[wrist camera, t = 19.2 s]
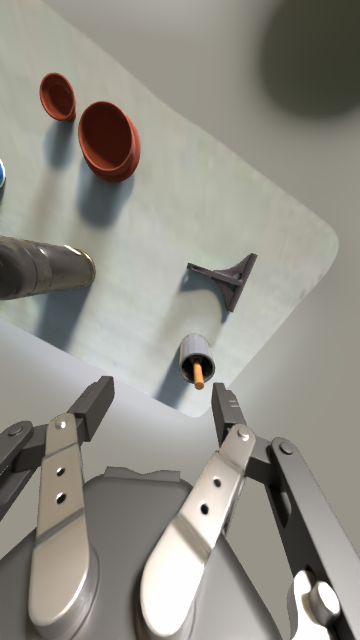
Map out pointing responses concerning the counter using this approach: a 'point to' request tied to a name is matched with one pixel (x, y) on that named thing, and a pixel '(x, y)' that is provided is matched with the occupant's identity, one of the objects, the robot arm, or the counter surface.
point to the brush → (197, 370)
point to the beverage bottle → (2, 174)
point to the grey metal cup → (195, 346)
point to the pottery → (95, 130)
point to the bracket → (229, 278)
